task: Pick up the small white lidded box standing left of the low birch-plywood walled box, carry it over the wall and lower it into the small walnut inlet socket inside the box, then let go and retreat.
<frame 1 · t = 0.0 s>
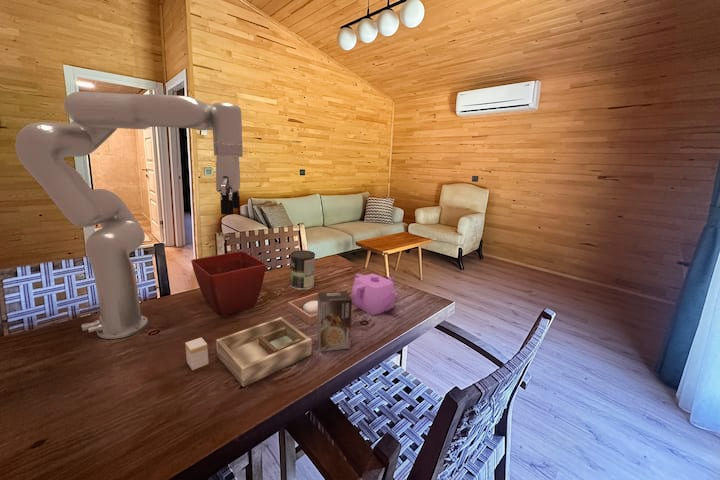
hand: (231, 211, 94), 37 cm above the table, tool pointing down, fingers open, 9 cm apart
coffee can: (302, 285, 137), on the table
small white lidded box: (197, 363, 84), on the table
garlic: (314, 312, 115), resting in garlic dish
garlic dish: (314, 311, 115), on the table
plant pot: (230, 306, 116), on the table
walled box: (264, 355, 89), on the table
coffee box: (332, 345, 96), on the table
teakettle: (374, 305, 123), on the table
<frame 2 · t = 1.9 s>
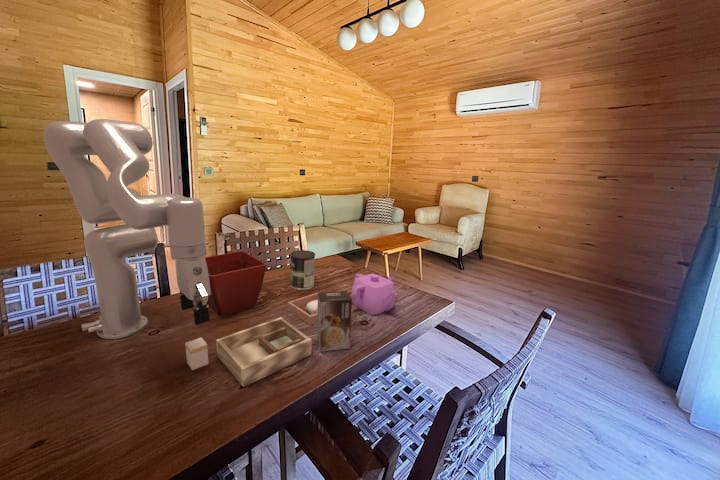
hand: (195, 315, 80), 14 cm above the table, tool pointing down, fingers open, 9 cm apart
garlic: (317, 311, 116), resting in garlic dish
everything else where it was.
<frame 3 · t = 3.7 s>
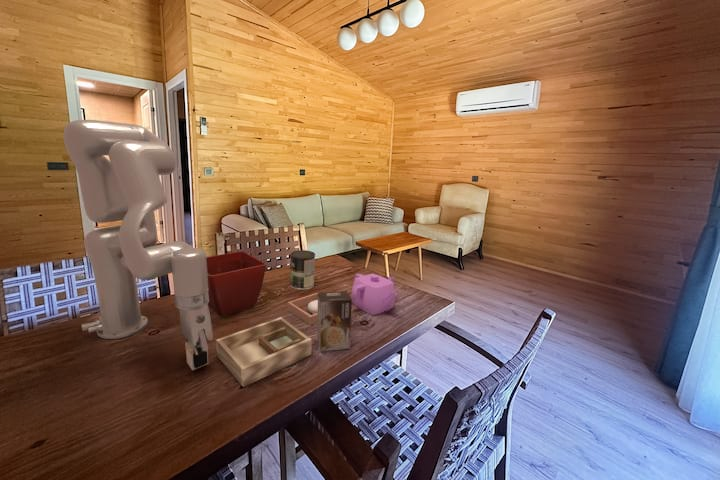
hand: (197, 360, 84), 1 cm above the table, tool pointing down, fingers closed on small white lidded box, 4 cm apart
small white lidded box: (197, 363, 84), on the table, touching gripper
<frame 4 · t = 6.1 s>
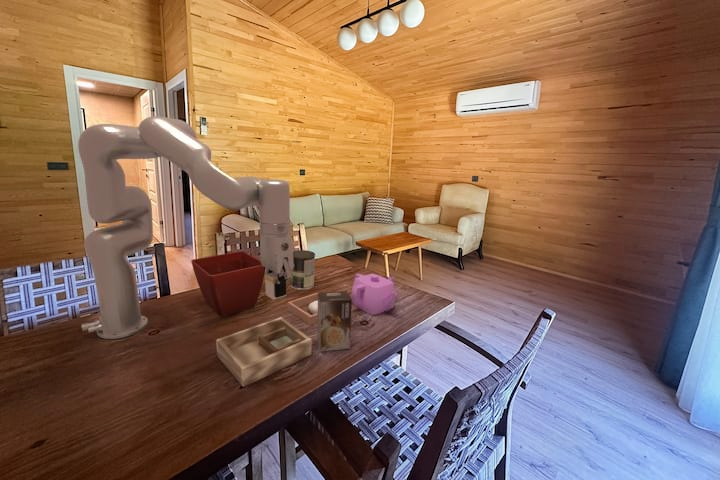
hand: (276, 292, 87), 18 cm above the table, tool pointing down, fingers closed on small white lidded box, 4 cm apart
small white lidded box: (275, 295, 88), point 17 cm above the table, touching gripper
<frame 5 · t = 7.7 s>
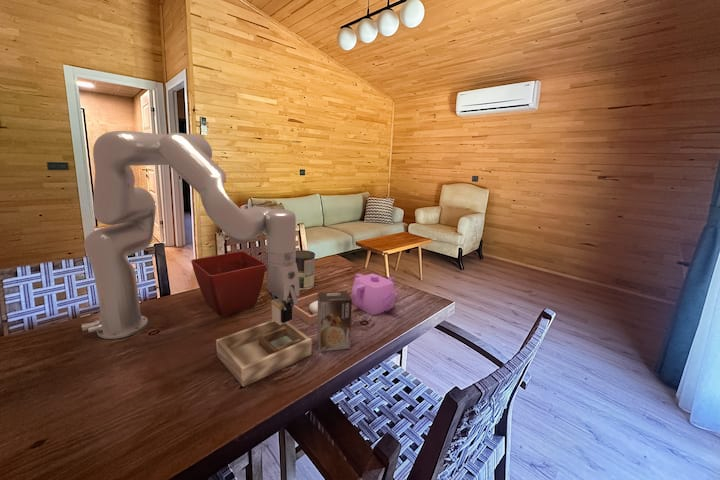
hand: (282, 317, 90), 10 cm above the table, tool pointing down, fingers closed on small white lidded box, 4 cm apart
small white lidded box: (282, 319, 90), point 9 cm above the table, touching gripper
when the fingers open (4 cm above the table, at t = 9.1 s): small white lidded box drops 2 cm, resting on walled box.
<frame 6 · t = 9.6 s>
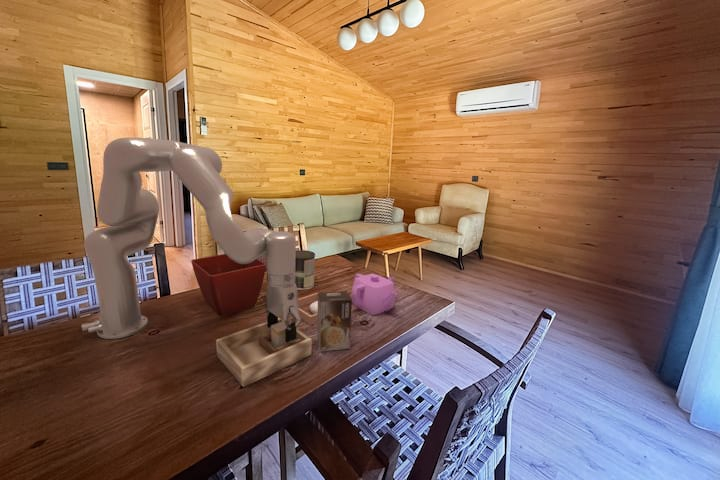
hand: (281, 332, 91), 5 cm above the table, tool pointing down, fingers open, 9 cm apart
small white lidded box: (281, 344, 92), point 1 cm above the table, touching walled box
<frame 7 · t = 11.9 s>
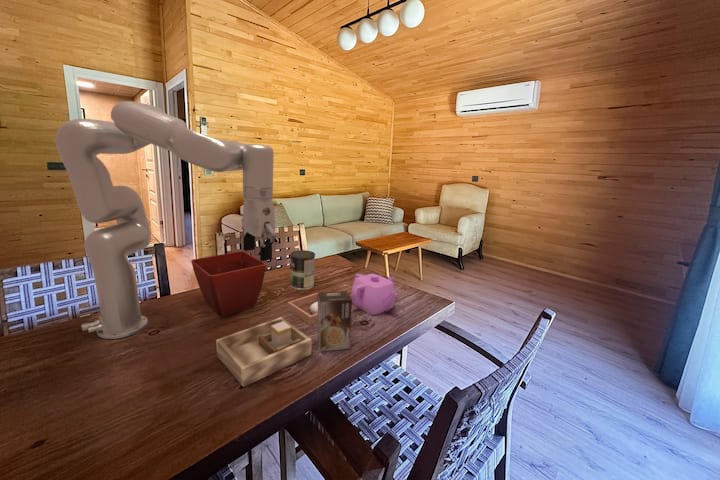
hand: (257, 254, 88), 27 cm above the table, tool pointing down, fingers open, 9 cm apart
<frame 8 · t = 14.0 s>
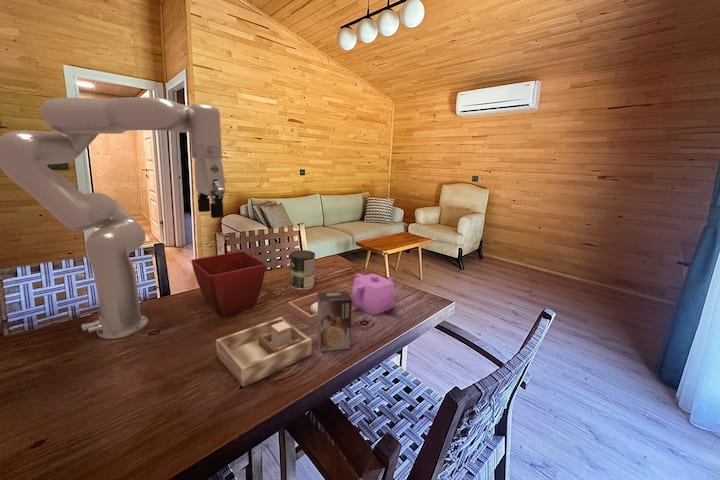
hand: (210, 214, 92), 36 cm above the table, tool pointing down, fingers open, 9 cm apart
at the end: small white lidded box inside the target area on the walled box (0.1 cm from its centre), point 1.2 cm above the walled box's base; small white lidded box tilted 0°; the gripper is holding nothing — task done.
